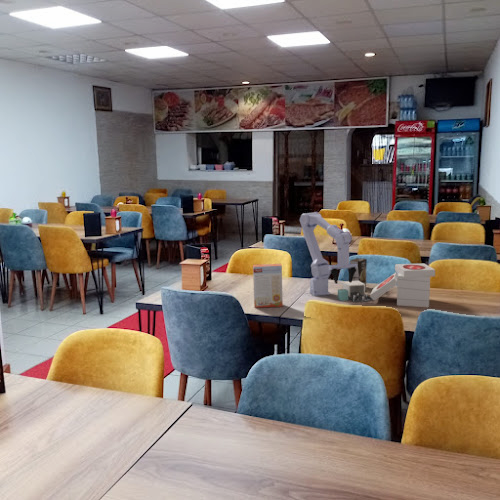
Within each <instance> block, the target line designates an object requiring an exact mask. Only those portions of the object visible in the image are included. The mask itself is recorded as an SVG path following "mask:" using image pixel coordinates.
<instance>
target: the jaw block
mask: <svg viewBox="0 0 500 500" xmlns="http://www.w3.org/2000/svg"><path fill="white" fill-rule="evenodd" d="M337 300H339V301H340V302H346V301H349V299H348V290H346V289H343V288H342V289H341V288H340V289H337Z"/></svg>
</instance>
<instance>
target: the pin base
mask: <svg viewBox="0 0 500 500" xmlns="http://www.w3.org/2000/svg"><path fill="white" fill-rule="evenodd" d="M348 300H350V301H351V302H353V303H361V302H362V303H363V302H373V301H374V300H373V299H372V298H371V297H370V295H368V294H367V293H365V296H363V295H362V294H360V293H358V292H352V293H350V297H349V296H348Z"/></svg>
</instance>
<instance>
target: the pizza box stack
mask: <svg viewBox="0 0 500 500" xmlns="http://www.w3.org/2000/svg"><path fill="white" fill-rule="evenodd" d="M394 271H395V273H393V274H391V275H390V276H388V277H387V278H386V279H384V280H383V281H382V282H380V283H378V284H377V285H376V286H375V287H373V289H372V290H371V293H370V294H369V297H371V298H372V299H373V301H376V300H377V299H379V298H380V297H381V296H383V295H384V294H385V293H387V292H388V291H390V290H391V289H393V288H394V287H396V286H397V291H396V293H397V294H396V305H397V306H399V307H400V306H401V307H403V306H404V307H414V308H415V307H416V308H428V307H429V308H430V295H431V293H430V291H431V277H436V269H434V268H433V267H431V266H430V265H428V264H426V263H396V264H395V265H394Z"/></svg>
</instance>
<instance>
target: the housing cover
mask: <svg viewBox="0 0 500 500" xmlns="http://www.w3.org/2000/svg"><path fill="white" fill-rule="evenodd" d="M342 289H346V290H348V296H349V297H350V293H352V292H358V293H360V294H362V295H363V296H365V294H366V287H365V284H364V283H362V282H360V281H352V282H351V283H350V282H349V280H346V281H342Z"/></svg>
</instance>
